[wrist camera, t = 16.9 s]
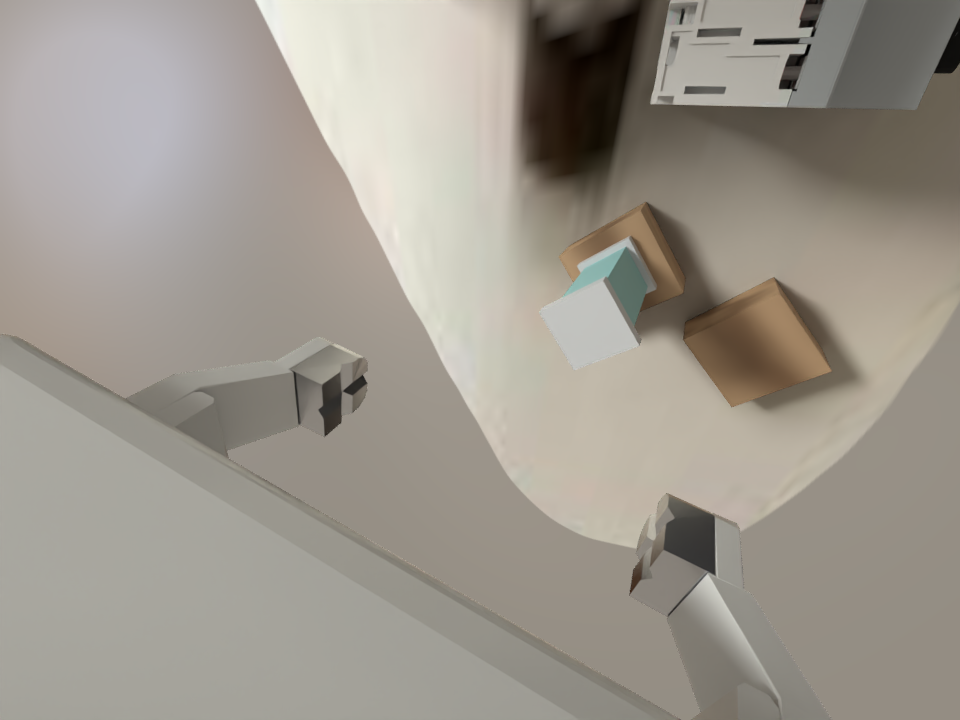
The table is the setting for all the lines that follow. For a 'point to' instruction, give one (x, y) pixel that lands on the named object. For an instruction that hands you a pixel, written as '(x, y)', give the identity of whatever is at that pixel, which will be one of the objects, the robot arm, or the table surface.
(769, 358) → the stand
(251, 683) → the robot arm
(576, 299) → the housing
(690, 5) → the circuit breaker
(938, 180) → the table surface
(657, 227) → the stand
